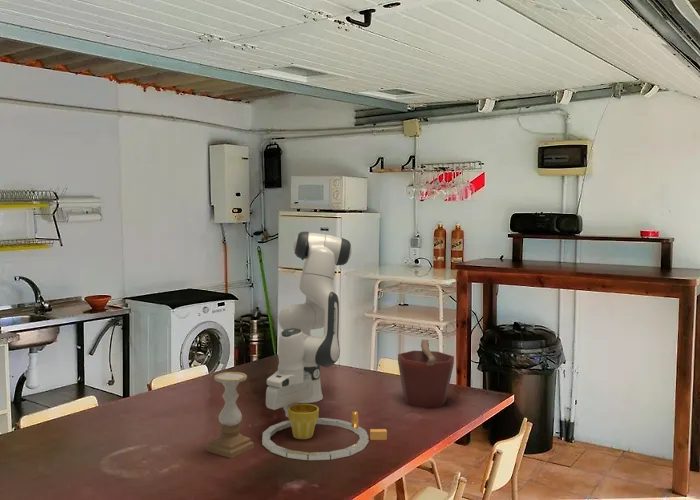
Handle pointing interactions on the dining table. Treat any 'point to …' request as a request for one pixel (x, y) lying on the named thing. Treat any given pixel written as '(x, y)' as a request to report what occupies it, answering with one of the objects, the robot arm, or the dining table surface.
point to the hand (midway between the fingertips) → (290, 416)
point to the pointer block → (378, 434)
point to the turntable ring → (318, 455)
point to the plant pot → (303, 420)
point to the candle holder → (230, 420)
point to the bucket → (425, 376)
